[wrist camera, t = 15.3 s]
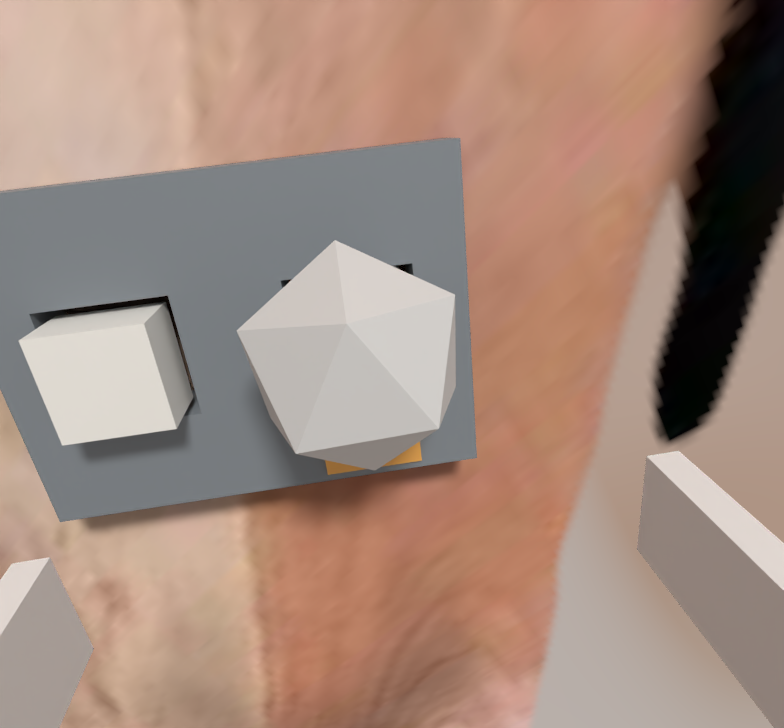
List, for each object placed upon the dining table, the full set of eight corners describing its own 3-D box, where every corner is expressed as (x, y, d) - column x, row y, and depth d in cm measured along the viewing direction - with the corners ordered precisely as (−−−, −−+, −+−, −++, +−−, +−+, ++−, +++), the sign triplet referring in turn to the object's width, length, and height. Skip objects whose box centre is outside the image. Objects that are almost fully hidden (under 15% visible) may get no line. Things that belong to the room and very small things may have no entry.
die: (273, 414, 27) (396, 546, 22) (160, 314, 20) (297, 470, 15) (385, 305, 29) (529, 402, 23) (316, 176, 22) (496, 270, 16)
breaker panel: (84, 487, 30) (58, 524, 27) (-37, 195, 24) (-87, 204, 21) (463, 429, 32) (477, 459, 29) (445, 137, 25) (461, 138, 22)
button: (91, 411, 27) (62, 445, 24) (55, 316, 25) (18, 340, 22) (193, 396, 27) (176, 429, 24) (165, 301, 25) (143, 323, 22)
